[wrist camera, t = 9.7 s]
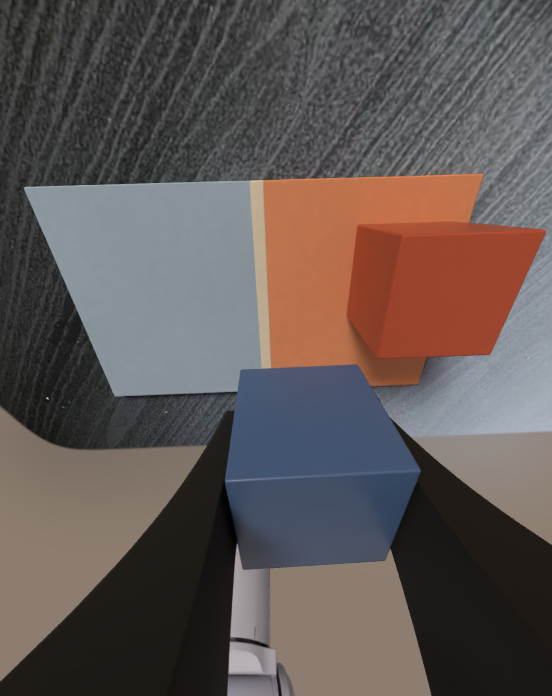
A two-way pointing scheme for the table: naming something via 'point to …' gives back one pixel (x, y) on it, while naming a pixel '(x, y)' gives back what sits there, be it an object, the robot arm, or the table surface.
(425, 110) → the table surface
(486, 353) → the terracotta block
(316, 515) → the slate blue block
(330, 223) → the mat
